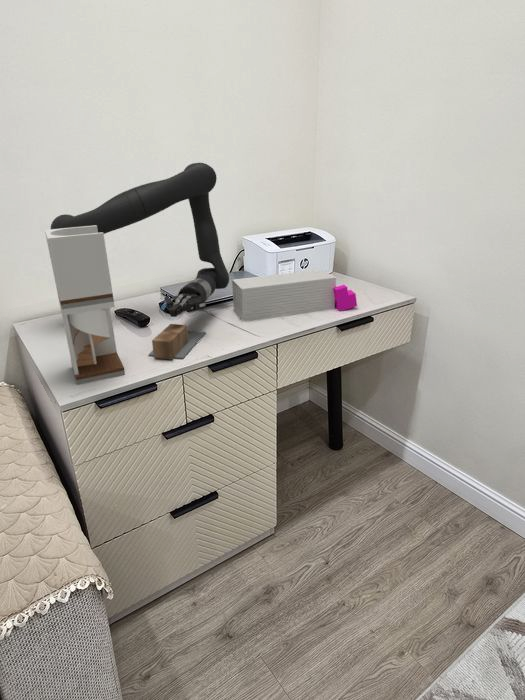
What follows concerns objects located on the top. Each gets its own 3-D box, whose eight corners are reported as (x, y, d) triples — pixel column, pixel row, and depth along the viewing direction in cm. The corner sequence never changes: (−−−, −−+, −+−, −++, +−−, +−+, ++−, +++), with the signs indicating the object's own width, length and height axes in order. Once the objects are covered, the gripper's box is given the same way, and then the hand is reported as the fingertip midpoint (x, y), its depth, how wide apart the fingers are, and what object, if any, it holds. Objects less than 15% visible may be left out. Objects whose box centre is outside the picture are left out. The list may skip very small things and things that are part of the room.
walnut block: (172, 340, 139) (154, 357, 129) (170, 323, 137) (151, 340, 127) (188, 341, 138) (171, 359, 128) (187, 325, 136) (169, 342, 126)
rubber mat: (148, 356, 131) (148, 354, 131) (174, 330, 147) (174, 329, 146) (183, 359, 129) (183, 357, 128) (206, 333, 144) (205, 332, 144)
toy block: (357, 305, 160) (354, 284, 157) (339, 311, 160) (336, 290, 156) (340, 291, 174) (337, 272, 170) (323, 296, 173) (320, 277, 169)
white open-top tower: (77, 384, 117) (47, 238, 102) (72, 366, 126) (44, 230, 111) (125, 374, 121) (103, 233, 107) (117, 358, 130) (96, 225, 115)
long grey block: (320, 299, 171) (321, 269, 167) (334, 308, 162) (336, 277, 158) (233, 310, 162) (232, 279, 157) (243, 321, 153) (241, 288, 148)
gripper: (173, 280, 147) (148, 298, 132) (215, 282, 144) (194, 301, 129) (176, 304, 150) (151, 324, 135) (216, 306, 147) (196, 328, 132)
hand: (172, 313), depth 132 cm, fingers closed
